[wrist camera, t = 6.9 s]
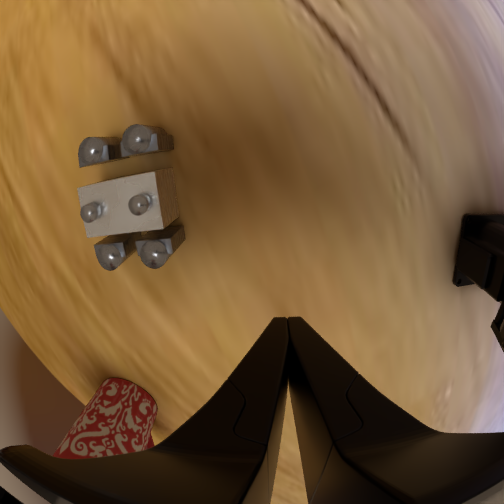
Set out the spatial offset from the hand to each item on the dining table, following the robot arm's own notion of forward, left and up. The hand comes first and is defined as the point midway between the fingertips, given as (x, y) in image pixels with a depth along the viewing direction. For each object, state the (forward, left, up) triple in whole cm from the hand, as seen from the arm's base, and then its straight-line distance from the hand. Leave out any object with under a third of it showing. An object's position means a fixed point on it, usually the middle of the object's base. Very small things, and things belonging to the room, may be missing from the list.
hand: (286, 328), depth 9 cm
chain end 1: (+11, -3, -12) cm, 17 cm away
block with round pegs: (+10, -3, -12) cm, 16 cm away
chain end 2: (+8, -3, -12) cm, 15 cm away
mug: (+17, +21, -12) cm, 29 cm away
